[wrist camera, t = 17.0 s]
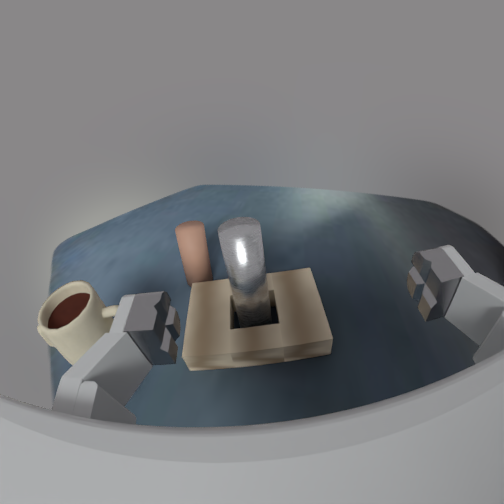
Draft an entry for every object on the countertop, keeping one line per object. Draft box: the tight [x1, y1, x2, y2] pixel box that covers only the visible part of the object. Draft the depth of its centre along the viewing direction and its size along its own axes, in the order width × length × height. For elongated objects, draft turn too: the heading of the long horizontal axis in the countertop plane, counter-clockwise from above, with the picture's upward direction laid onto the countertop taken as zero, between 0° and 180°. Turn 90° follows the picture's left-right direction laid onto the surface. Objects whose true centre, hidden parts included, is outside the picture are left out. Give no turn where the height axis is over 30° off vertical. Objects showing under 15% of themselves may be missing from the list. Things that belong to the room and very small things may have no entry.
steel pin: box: [218, 217, 272, 328], centre depth 30 cm, size 4×4×14 cm
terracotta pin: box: [175, 221, 213, 287], centre depth 40 cm, size 4×4×9 cm
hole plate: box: [182, 268, 333, 371], centre depth 33 cm, size 16×12×3 cm
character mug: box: [37, 280, 118, 365], centre depth 25 cm, size 11×7×13 cm, turn 106°
